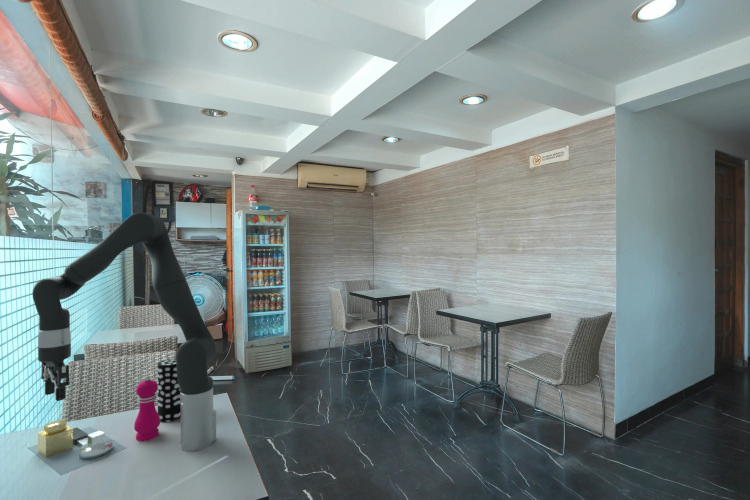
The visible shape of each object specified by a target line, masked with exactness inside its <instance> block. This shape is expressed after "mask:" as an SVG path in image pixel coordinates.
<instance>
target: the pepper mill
mask: <svg viewBox="0 0 750 500" xmlns="http://www.w3.org/2000/svg"><path fill="white" fill-rule="evenodd" d="M135 392H136V395H137V396H138V398H137V399H138V400H137V402H138V403H139V410H138V413H137V415H136V418H135V420H134V424H133V426H134V427H133V428H134V431H135V432H136V435H135V440H136V441H138V442H148V441H150V440H154V439H156V438H157V437H158V436H159V434H160V433H159V432H160V431H159V428H158V427H160V426H161V425H160V424H161V422H160V417H159V415H158V410H157V409H156V404H155V403H156V399H157V394H156V392H158V382H156V381H155V379H154V380H153V379H151V377H150V375H145V376H144V377H143V380H142V381H140V382H139V383H138V385H136V388H135Z"/></svg>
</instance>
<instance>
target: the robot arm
mask: <svg viewBox="0 0 750 500" xmlns="http://www.w3.org/2000/svg"><path fill="white" fill-rule="evenodd" d="M139 243H141V244H142V245H143V247H144V248H145V250H146V252H147V254H148V256H149V259H150V263H151V283H152V287H153V291H154V293H155V296H156V298H157V300H158V303H159V304H160V306H161V307H162V308H163V310H164V311H165V312H166V313H167V314H168V315H169V316H170V318H172V319H173V320H174V321H175V322H176V323H177V325H178V326H179V327H180V329H181V331H182V334H183V336H184V338H185V341H184V342H182V343H181V344H180V345H179V347H178V348H177V351H176V357H175V359H176V366H177V381H178V384H179V386H180V405H181V418H180V449H181V450H182V451H184V452H197V451H201V450H204V449H206V448H208V447H211V446H212V445H213V443H214V442H215V441H217V410H215V409H214V379H213V377H212V376H210V375H208V374H209V373H208V363H210V362H211V361H213V359H215V357H216V355H217V351H218V350H217V344H216V341H215V339H214V337H213V335H212V334H211V332H210V330H209V328H208V326H207V325H206V323H205V321H204V320H203V317H202V315H201V312H200V310H199V307H198V305H197V303H196V301H195V299H194V298H195V297H194V296H193V294H192V291H191V289H190V285H189V284H188V281H187V278H186V277H185V275H184V272H183V270H182V268H181V265H180V263H179V261H178V259H177V256H176V255H175V252H174V249H173V246H172V243H171V239H170V236H169V232H168V230H167V226H166V224H165V222H164V221H163V220H162V219H161V217H158V216H156V215H154V214H150V213H146V212H135V213H133V214H131V215H130V216H128V217H127V218H126V219H124V221H122V222H121V223H120V224H119V225H117V227H116V228H115V229H114V230H113V231H112V232H111V233H110V234H108V235H107V236H106V237H105V238H104V239H103V240H101V241H100V242H99V243H98V244H96V245H95V246H93V248H91V249H90V250H88V251H87V252H85V253H84V254H82V255H81V256H79V257H78V258H76V259H75V260H73V261H72V262H70V263H69V264H67V266H66V267H65V268H64V272H63V273H62V274H61V275H59V276H57V277H55V276H54V277H47V278H46V277H45V278H42V279H39V280H38V281H37V282H36V283H35V284H34V286H33V288H32V293H31V294H32V300H33V302H34V306H35V309H36V312H37V315H38V335H37V361H38V362H40V363H41V377H40V379H41V380H43V383H44V394H45V395H46V396H49V395H53V394H55V395H54V396H55V401H57V402H60V401H64V400H65V399H66V398H67V395H66V392H67V391H66V390H67V386H70V365H69V364H65V362H64V361H65V360H66V359H67V360H68V359H69V358H70V357H71V356H72V332H71V323H70V322H71V318H70V317H71V316H70V315H71V314H70V313H71V312H70V310H68V309H67V308H64V307H63V306H62V303H61V300H65V299H68V298H70V297H72V296H73V295H74V294H75V293H77V292H79V290H80V289H81V288H82V287H83V286H84V285H85V284H86V283H87V282H90V281H91V280H93V278H95V277H97V276H98V275H99V274H101V273H102V272H103V271H104V272H105V270H106V269H107V268H108V267H110V266H111V264H112V263H113V261H115V259H116V258H117V257H118V256H119V255H120V254H121V253H122V252H124V251H126V250H127V249H128V248H130V247H133V246H135V245H137V244H139Z"/></svg>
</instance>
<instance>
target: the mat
mask: <svg viewBox="0 0 750 500" xmlns="http://www.w3.org/2000/svg"><path fill="white" fill-rule="evenodd" d="M80 430H82V431H84V432H85V433H87V434H91V433H94V432H97V431H98V430H97V429H95V428H94V427H92V426H87V427H85V428H82V429H80ZM105 439H111V440H112V441H113V449H112V451H111V452H109V453H108V454H106V455H104V456H102V457H99V458H96V459H91V460H82V459H80V458H79V449H80V448H81V447H80V446H78V445H74V444H73V448H72V449H70V450H67V451H64V452H62V453H59V454H56V455H54V456H51V457H48V458H45V457H44V456H42V455H41V454H40V453H39V452H38V444H35V445H32V446H29V447H28V449H29V450H30V452H32V453H33V454H35V455H36V457H38V458H39V459H41V460H42V461H43V462H44V463H45V464H47V466H49V467H50V468H51V469H53V470H54V471H55V472H56V473H58V474H59V475H60V476H63V475H65V474H67V473H70V472H72V471H75V470H78V469H80V468H82V467H84V466H87V465H90V464H92V463H94V462H97V461H99V460H102V459H104V458H106V457H108V456H110V455H113V454H116V453H117V452H121V451H123V450H125V449H127V447H126V446H124V445H123V444H121V443H119V442H118V441H116V440H114V439H112V438H111V437H109V436H107V435H106V434H105Z"/></svg>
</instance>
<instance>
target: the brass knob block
mask: <svg viewBox="0 0 750 500" xmlns="http://www.w3.org/2000/svg"><path fill="white" fill-rule="evenodd" d="M67 422H68V421H67V420H66V419H59V420H52V421H50V422H48V423H46V424H45V425H44V426H43V430H40V431H37V445H38V452H39V453H40V454H41V455H42V456H44V457H45V458H48V457H51V456H54V455H56V454H59V453H62V452H64V451H67V450H70V449H72V448H73V428H72V427H71V426H70V425H68V423H67Z"/></svg>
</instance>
